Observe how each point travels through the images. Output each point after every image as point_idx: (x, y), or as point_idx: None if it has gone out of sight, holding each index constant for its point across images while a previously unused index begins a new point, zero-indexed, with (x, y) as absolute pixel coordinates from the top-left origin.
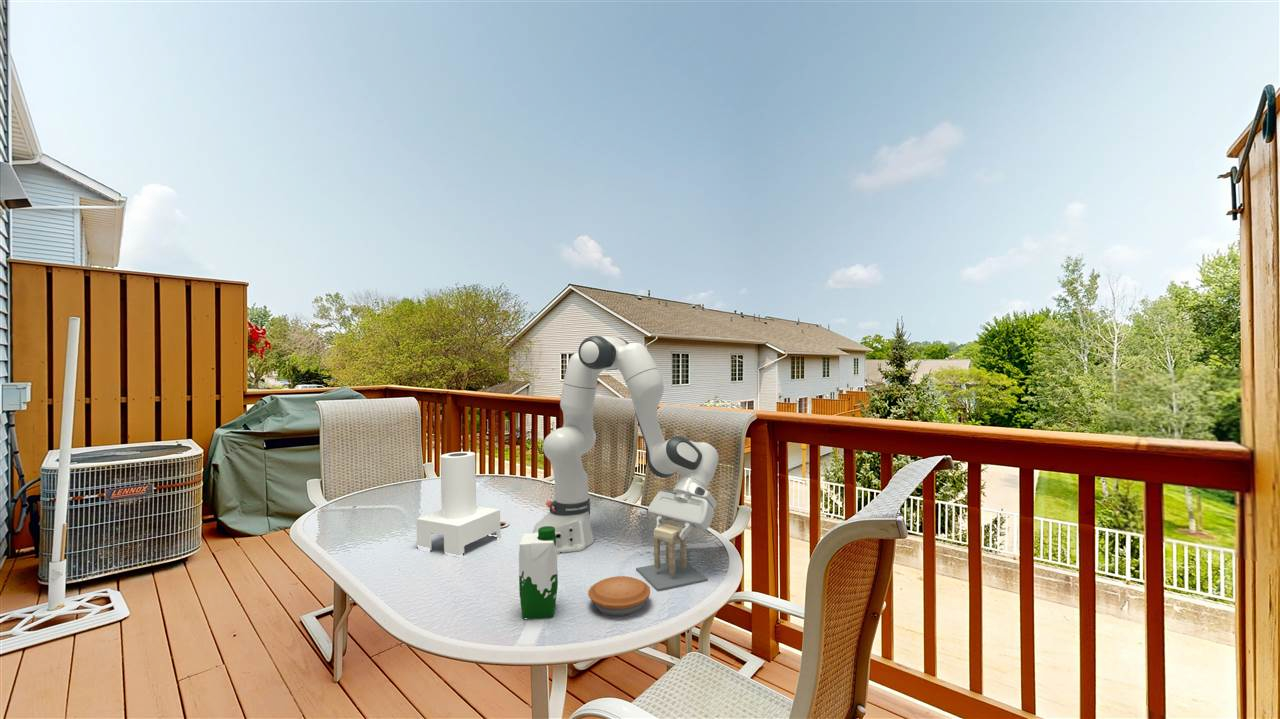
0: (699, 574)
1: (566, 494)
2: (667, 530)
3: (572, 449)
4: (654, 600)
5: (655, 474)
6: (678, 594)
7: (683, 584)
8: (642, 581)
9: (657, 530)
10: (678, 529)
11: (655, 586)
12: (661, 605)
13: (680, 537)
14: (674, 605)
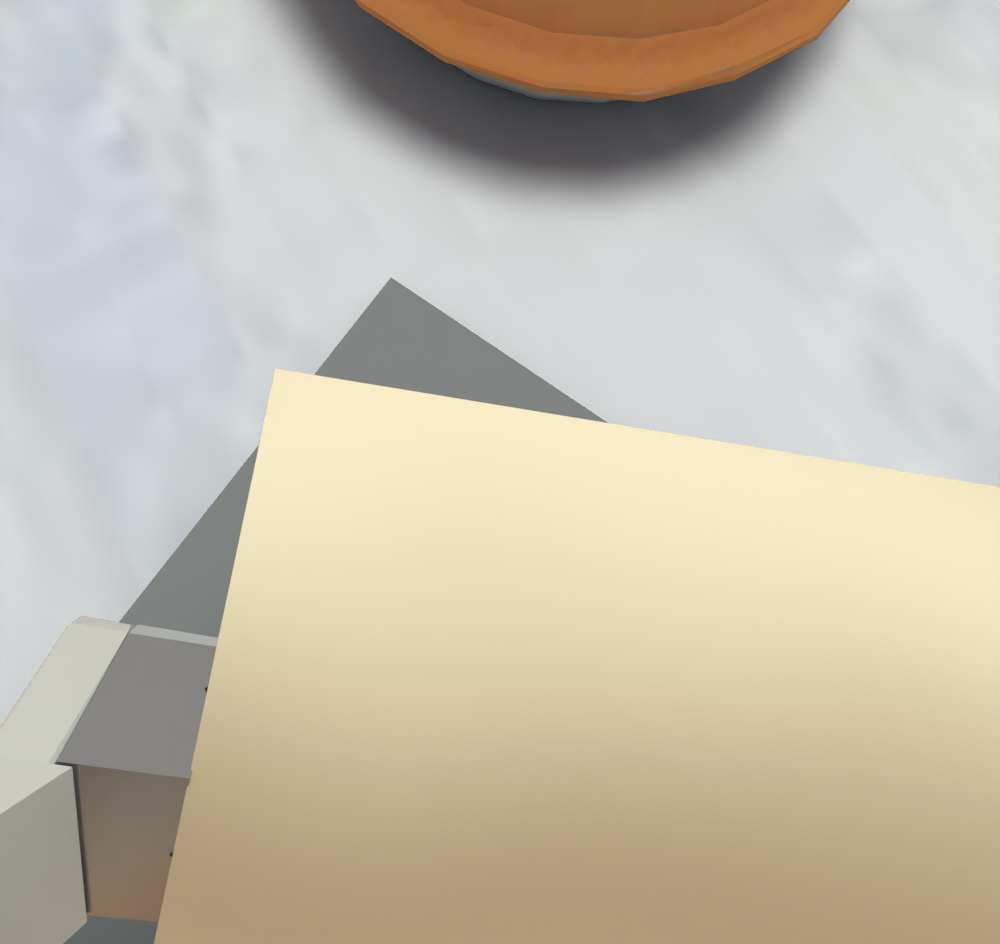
0: (93, 929)
1: None
2: (569, 583)
3: None
4: (320, 113)
5: None
6: (149, 334)
7: (182, 545)
8: (504, 68)
9: (866, 470)
10: (268, 905)
11: (447, 322)
12: (205, 59)
13: (98, 622)
14: (83, 111)
